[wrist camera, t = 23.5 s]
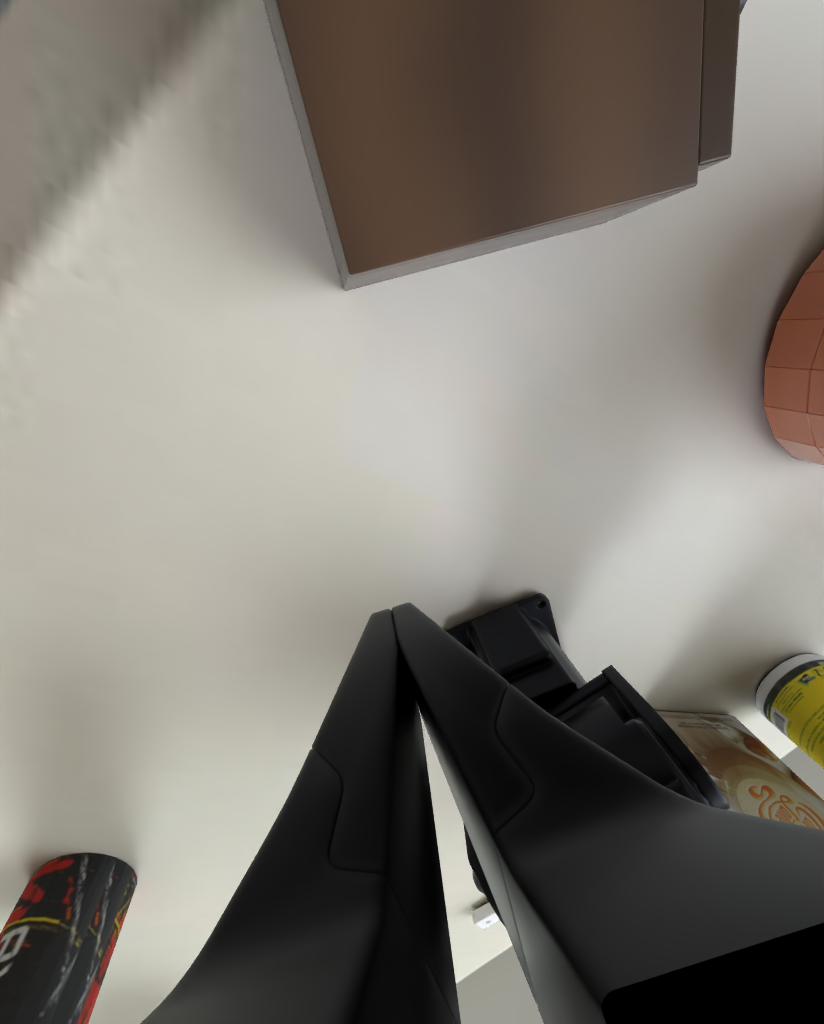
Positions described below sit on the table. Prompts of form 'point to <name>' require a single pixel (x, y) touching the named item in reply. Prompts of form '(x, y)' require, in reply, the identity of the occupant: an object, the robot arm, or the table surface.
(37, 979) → the deodorant
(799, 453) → the bowl
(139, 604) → the table surface
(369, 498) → the table surface
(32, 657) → the table surface
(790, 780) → the coffee box
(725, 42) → the drawer
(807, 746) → the pill bottle
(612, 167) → the cabinet
